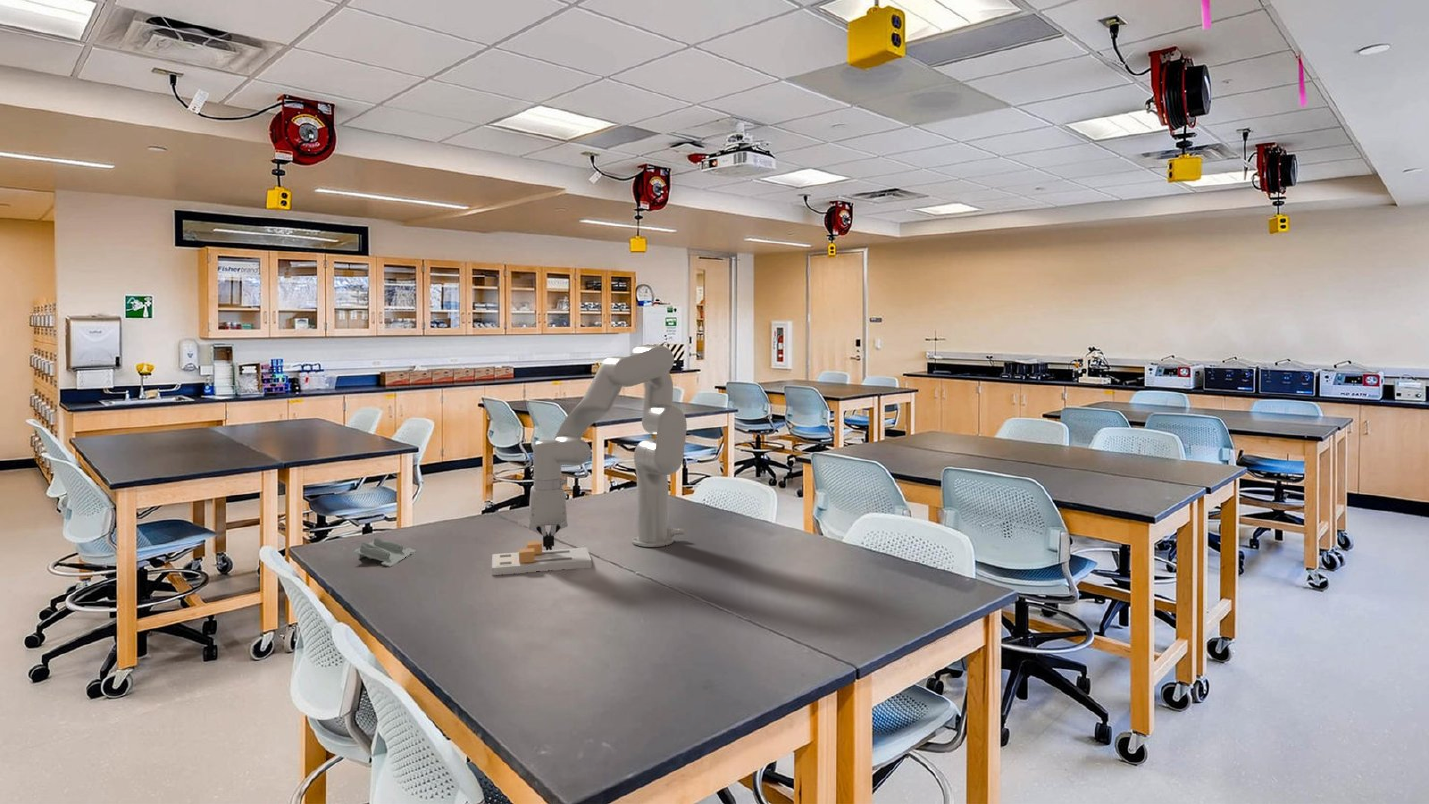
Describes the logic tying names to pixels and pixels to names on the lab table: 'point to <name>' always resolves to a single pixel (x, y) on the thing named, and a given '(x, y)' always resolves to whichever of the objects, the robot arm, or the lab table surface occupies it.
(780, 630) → the lab table surface
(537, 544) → the switch tab
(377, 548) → the metal bracket
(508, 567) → the switch panel
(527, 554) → the switch tab
